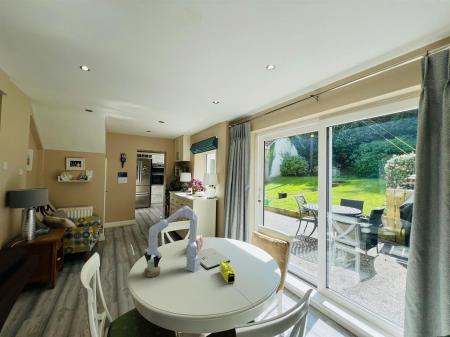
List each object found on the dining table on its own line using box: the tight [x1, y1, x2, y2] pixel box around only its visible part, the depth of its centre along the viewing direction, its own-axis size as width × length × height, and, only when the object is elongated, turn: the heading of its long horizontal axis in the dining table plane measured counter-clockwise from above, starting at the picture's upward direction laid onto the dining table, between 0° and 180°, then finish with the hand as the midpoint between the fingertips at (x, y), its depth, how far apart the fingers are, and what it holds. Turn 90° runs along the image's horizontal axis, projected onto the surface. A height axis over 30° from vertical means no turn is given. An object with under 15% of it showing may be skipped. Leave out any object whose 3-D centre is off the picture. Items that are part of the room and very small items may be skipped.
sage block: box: [146, 258, 157, 272], centre depth 134 cm, size 4×4×6 cm
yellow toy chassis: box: [219, 260, 236, 284], centre depth 133 cm, size 16×6×8 cm, turn 19°
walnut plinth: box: [143, 265, 161, 279], centre depth 134 cm, size 10×10×3 cm
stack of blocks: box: [196, 234, 204, 255], centre depth 176 cm, size 21×6×12 cm, turn 175°
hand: (152, 265), depth 134 cm, fingers open, 7 cm apart
